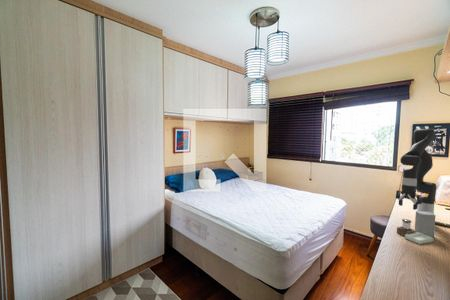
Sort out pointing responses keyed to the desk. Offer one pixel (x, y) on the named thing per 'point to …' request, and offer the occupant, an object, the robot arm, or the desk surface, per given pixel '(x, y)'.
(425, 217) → the skincare box
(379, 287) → the desk surface
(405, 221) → the pin
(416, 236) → the tray
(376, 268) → the desk surface
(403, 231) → the block
